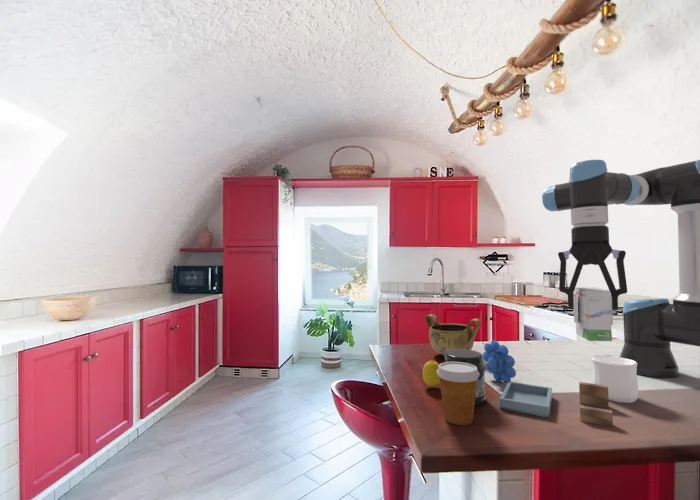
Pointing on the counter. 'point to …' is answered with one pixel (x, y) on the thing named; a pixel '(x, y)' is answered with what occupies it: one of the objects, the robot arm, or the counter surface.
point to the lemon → (431, 373)
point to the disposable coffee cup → (458, 391)
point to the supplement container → (475, 360)
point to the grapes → (499, 362)
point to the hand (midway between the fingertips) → (592, 322)
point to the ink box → (593, 314)
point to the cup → (616, 377)
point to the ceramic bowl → (451, 335)
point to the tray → (527, 399)
